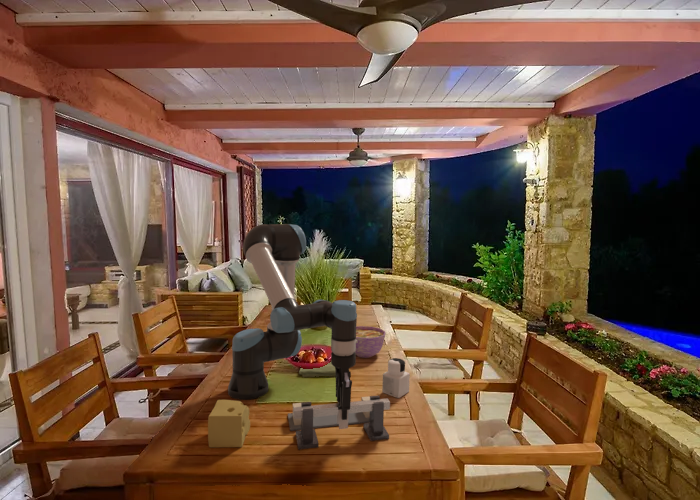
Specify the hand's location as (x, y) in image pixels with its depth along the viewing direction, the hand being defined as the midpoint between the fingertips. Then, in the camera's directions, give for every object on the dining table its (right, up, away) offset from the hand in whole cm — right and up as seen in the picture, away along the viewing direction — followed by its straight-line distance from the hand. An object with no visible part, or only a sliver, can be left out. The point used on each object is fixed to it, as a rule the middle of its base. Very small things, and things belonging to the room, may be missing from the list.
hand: (342, 425), depth 122 cm
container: (+20, -1, +32) cm, 38 cm away
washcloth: (-11, 0, +51) cm, 52 cm away
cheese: (-35, -4, -2) cm, 35 cm away
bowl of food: (+10, +2, +72) cm, 73 cm away
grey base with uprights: (-3, -3, +11) cm, 12 cm away
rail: (0, +4, 0) cm, 4 cm away
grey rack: (0, -4, 0) cm, 4 cm away
